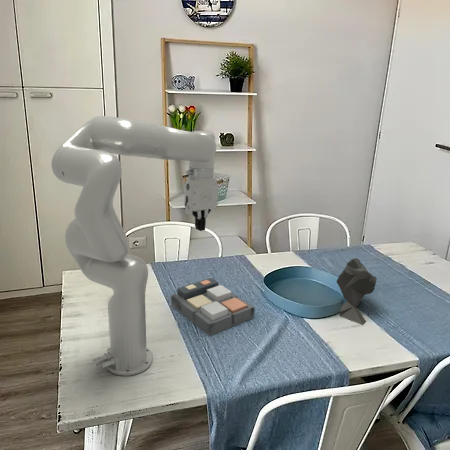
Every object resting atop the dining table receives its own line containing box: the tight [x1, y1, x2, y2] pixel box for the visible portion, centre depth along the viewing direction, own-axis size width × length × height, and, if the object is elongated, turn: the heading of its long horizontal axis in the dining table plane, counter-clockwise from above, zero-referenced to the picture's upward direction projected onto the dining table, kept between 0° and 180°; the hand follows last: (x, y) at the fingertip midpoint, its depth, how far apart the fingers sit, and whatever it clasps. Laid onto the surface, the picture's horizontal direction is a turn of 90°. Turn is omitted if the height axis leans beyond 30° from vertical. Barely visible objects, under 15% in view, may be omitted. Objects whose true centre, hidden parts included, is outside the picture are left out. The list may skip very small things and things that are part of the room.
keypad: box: [170, 277, 255, 337], centre depth 144 cm, size 18×22×7 cm
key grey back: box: [207, 284, 233, 303], centre depth 147 cm, size 6×6×3 cm
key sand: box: [187, 295, 212, 310], centre depth 143 cm, size 6×6×3 cm
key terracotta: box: [221, 298, 247, 314], centre depth 142 cm, size 6×6×3 cm
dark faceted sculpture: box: [336, 257, 378, 326], centre depth 147 cm, size 14×15×18 cm
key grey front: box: [201, 301, 228, 321], centre depth 136 cm, size 6×6×3 cm
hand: (200, 229), depth 138 cm, fingers closed
